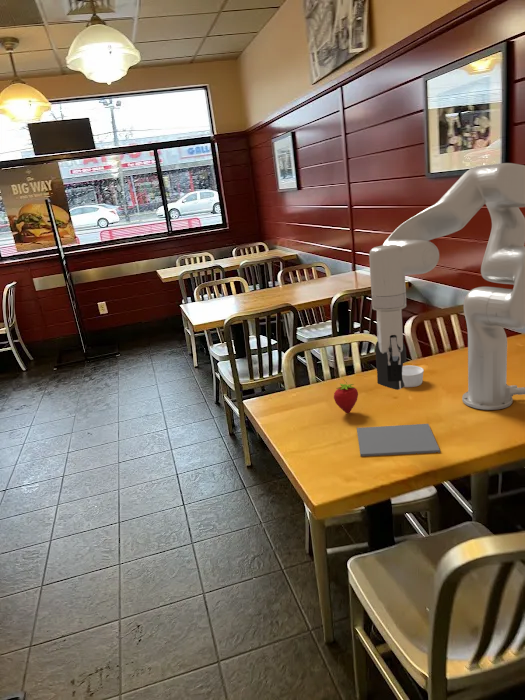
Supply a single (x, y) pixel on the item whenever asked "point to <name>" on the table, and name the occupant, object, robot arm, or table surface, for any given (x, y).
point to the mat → (396, 440)
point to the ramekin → (412, 375)
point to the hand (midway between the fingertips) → (392, 374)
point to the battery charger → (382, 368)
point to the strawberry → (346, 397)
